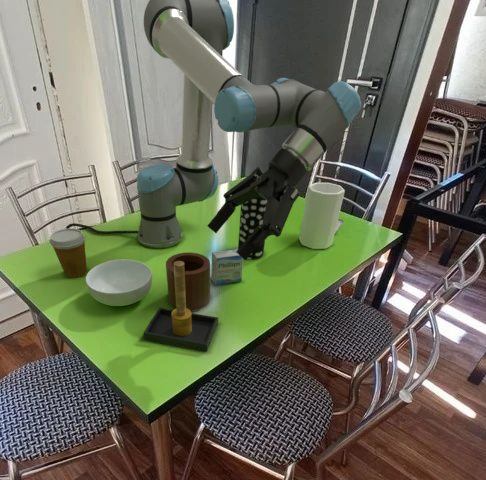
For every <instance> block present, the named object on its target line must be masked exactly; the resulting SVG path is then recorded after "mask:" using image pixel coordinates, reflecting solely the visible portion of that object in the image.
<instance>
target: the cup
mask: <svg viewBox="0 0 486 480" xmlns="http://www.w3.org/2000/svg"><path fill="white" fill-rule="evenodd" d="M345 191H346V190H345V189H344V188H343V187H342V186H341V185H339V184H335V183H332V182H313V183H312V184H309V185H308V186H307V191H306V196H305V202H304V208H303V214H302V219H301V226H300V231H299V237H298V240H299V242H300V244H301V246H304V247H307V248H309V249H311V250H326V249H328V248H329V247H331V246H332V245H333V242H334V238H335V235H336V233H335V230H336V226H337V222H338V219H340V218H339V217H340V212H341V210H342V209H341V208H342V205H343V200H344V197H345Z"/></svg>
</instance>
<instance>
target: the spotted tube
mask: <svg viewBox="0 0 486 480" xmlns="http://www.w3.org/2000/svg"><path fill="white" fill-rule="evenodd" d="M257 188H258V187H257ZM266 204H267V200H266V199H263V198H262V197H260V198H258V197H256V198H254V199H252V200H250V201H248V202H245V203H243V204H241V205H240V213H239V228H238V229H239V230H238V231H239V232H238V242H237V243H238V244H237V249H239V248H240V247H241V245H242V244H243V243H244V242H245V241H246V240H247V238H248V237H249V236H250V235H251V234H252V233H253V231H254V230H255V229H256V228H257V227H260V225H261V224H262V223H263V218H264V214H265V209H266ZM260 228H261V227H260ZM261 229H262V228H261ZM265 244H266V240H265V241H264V242H263V243H262V244H261V245H260V246H259V247H258V248H256V249H255V250H254V251H253V252H252V253H251V255H250V256H249V257H248V258H247V259H246V260H259V259H262V258H263V257H264V253H265Z"/></svg>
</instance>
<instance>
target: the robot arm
mask: <svg viewBox="0 0 486 480" xmlns="http://www.w3.org/2000/svg"><path fill="white" fill-rule="evenodd" d="M143 30H144V34H145V37H146V39H147V41H148V43H149V45H150V46H151V48H152V49H153V50H154V52H156V54H158V55H159V56H160V57H161V58H164V59H168V60H170V61H171V62H172V63H173V64H174V65H175V66H177V68H178V69H179V70H180V71H181V72H182V73H183V81H182V82H183V83H182V84H183V86H182V87H183V88H182V118H181V119H182V121H181V152H180V154H179V156H177V157H176V167H174V166H172V165H171V164H168V163H160V164H159V163H155V164H151V165H148V166H146V167H143V168H141V169H140V171H139V172H138V173H137V176H136V189H137V194H138V195H137V196H138V203H139V211H140V222H139V226H138V230H98V229H95V228H93V227H91V226H90V225H87V224H86V225H85V224H81V223H76V222H74V223H73V222H71V223H69V224H68V225H66V227H65V229H69V228H72V227H79V228H83V229H88V230H89V231H91V232H92V233H95V234H100V235H115V234H116V235H117V234H120V235H121V234H122V235H123V234H127V235H128V234H135V235H137V240H138V243H139V244H140V245H142V246H143V247H146V248H149V249H167V248H171V247H174V246H177V245H179V244H180V243H181V242H182V240H183V235H184V230H182V228H181V226H180V223H179V220H178V218H177V207H179V206H184V205H189V204H192V203H197V202H203V201H205V200H208V199H210V198H212V197H214V195H215V194H216V192H217V190H218V187H219V175H218V170H217V167H216V166H215V164H213V159H212V158H211V157H210V156H209V153H210V140H211V127H212V116H213V112H214V118H215V120H217V125H218V127H219V129H220V130H222V131H223V132H226V133H245V132H248V131H253V130H260V129H267V128H275V127H283V126H291V127H293V128H295V129H294V130H293V131H292V132H291V133H290V135H289V136H288V137H287V138H286V139H285V141H284V142H283V143H282V145H281V147H282V148H278V149H277V150H276V152H275V153H274V154H273V156H272V157H271V158H270V159H269V160H268V169H267V170H266V171H264V172H263V170H262V169H261V168H260V167H259V166H258V167H256V168H255V169H254V170H253V171H252V172H251V173H250V174H249V175H247V177H245V178H244V179H242V180H241V181H240V182H238V183H237V184H236V185H234V186H233V187H231V188H230V189H229V190H227V191H226V192H224V194H223V198H224V204H223V205H222V206H221V207H220V208H219V210H218V211H217V212H216V214H215V216H214V217H213V218H212V219H211V220H210V222H209V223H207V225H206V226H207V227H208V229H210V230H211V231H212V232H213V233H215V234H217V233H218V232H219V231H220V230H221V229H222V227H223V226H224V225H225V224H226V222H227V221H228V220H229V219H230V217H232V215H233V214H234V213H235V211H236V209H237V208H238V207H240V206H241V204H243V203H245V202H248V201H250V200H252V199H254V198H256V197H258V198H260V197H262V198H263V199H266V200H267V204H266V209H265V214H264V218H263V223H262V224H261V225H260V227H261V228H262V229H261V228H260V227H257V228H256V229H255V230H254V231H253V233H252V234H251V235H250V236H249V237H248V238H247V240H246V241H245V242H244V243H243V244H242V245H241V247H240V248H239V249H238V248H237V249H238V250H237V251H236V253H237V254H239V255H240V256H241V257H242V258H243V261H246V260H248V259H247V258H248V257H249V256H250V255H251V253H252V252H253V251H254V250H255V249H256V248H258V247H259V246H260V245H261V244H262V243H263V242H264V241H265V242H266V240H267V239H268V238H269V237H271V236H275V237H276V238H279V237H280V236H281V235H282V232H283V230H284V227H285V225H286V222H287V220H288V218H289V216H290V213H291V210H292V208H293V206H294V203H295V202H296V201H297V199H298V198H299V197H300V194H301V193H300V192H299V191H298V189H297V188H296V187H297V186H298V185H299V184H300V183H301V182H302V181H303V179H304V178H305V177H306V176H307V174H308V173H307V172H308V171H311V170H312V169H313V168H314V167H315V165H316V164H317V163H318V162H319V160H320V159H322V157H323V155H324V154H325V153H326V152H327V150H328V149H329V148H330V147H332V145H333V144H334V143H335V142H336V141H337V140H338V138H340V136H341V135H342V134H343V133H344V132H345V131H346V130H347V129H348V128H349V127H350V125H351V124H352V122H353V121H354V119H355V118H356V117H357V116H358V114H359V113H360V111H361V109H362V101H361V96H360V94H359V93H358V91H357V90H356V89H355V88H354V87H353V86H352V85H350V84H349V83H347V82H345V81H342V80H339V81H335V82H334V83H332V84H331V85H330V86H329V87H327V89H326V91H323V90H321V89H316V88H314V87H311V86H308V85H306V84H304V83H302V82H300V81H298V80H296V79H292V78H291V79H290V78H287V77H280V78H278V79H276V80H275V81H274V82H272V83H270V84H259V85H257V84H254V83H252V82H251V81H250V80H249V79H248V78H246V77H245V76H244V75H243V74H242V73H240V71H238V70H237V69H236V68H235V67H234V66H233V65H232V64H231V63H230V62H228V60H227V59H225V58H224V57H223V51H224V50H226V49H227V48H229V46H230V45H231V42H232V41H233V38H234V33H235V19H234V13H233V9H232V7H231V4H230V1H229V0H148V2H147V4H146V6H145V9H144V13H143ZM213 105H214V107H213ZM257 187H258V188H257Z"/></svg>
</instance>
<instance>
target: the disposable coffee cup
mask: <svg viewBox="0 0 486 480" xmlns="http://www.w3.org/2000/svg"><path fill="white" fill-rule="evenodd" d="M49 238H50V239H49V244H50V245H51V246H52V248H53V250H54V252H55V255H56V257H57V259H58V261H59V264H60V266H61V269H62V271H63V273H64V276H66V277H67V278H71V279H76V278H81V277H82V276H83V277H84V276H85V275H87V273H88V269H87V268H88V267H87V257H86V256H87V255H86V245H85V244H86V243H85V241H86V235H85V234H84V232H83V231H82V230H80V229H77V228H72V227H70V228H69V229H66V228H62V229H58V230H56V231H54V232H53V233H51V234H50V237H49Z"/></svg>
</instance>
